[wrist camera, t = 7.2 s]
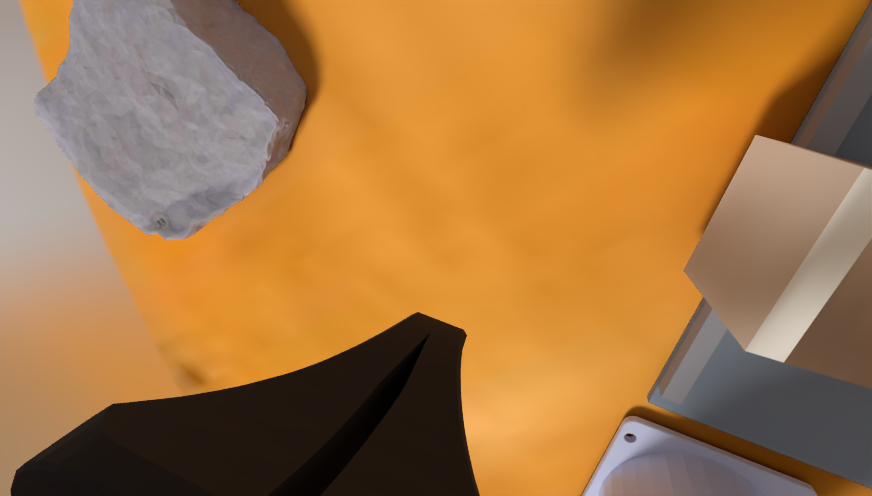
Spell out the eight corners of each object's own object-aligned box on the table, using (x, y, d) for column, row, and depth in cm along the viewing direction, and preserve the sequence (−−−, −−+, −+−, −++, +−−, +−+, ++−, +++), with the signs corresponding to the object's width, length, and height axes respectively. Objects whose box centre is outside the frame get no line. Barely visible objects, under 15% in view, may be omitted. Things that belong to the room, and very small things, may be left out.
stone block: (350, 93, 21) (174, -83, 19) (307, 119, 17) (76, -101, 15) (233, 233, 27) (86, 111, 25) (181, 277, 23) (-2, 136, 21)
